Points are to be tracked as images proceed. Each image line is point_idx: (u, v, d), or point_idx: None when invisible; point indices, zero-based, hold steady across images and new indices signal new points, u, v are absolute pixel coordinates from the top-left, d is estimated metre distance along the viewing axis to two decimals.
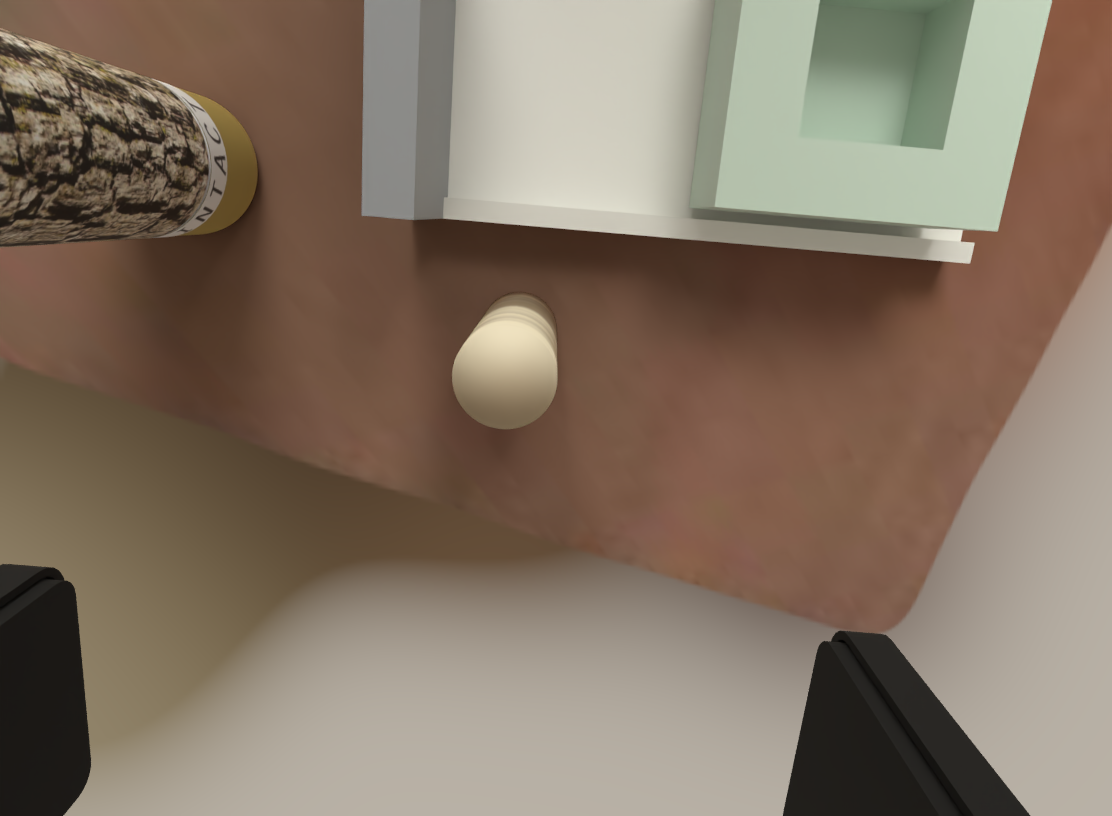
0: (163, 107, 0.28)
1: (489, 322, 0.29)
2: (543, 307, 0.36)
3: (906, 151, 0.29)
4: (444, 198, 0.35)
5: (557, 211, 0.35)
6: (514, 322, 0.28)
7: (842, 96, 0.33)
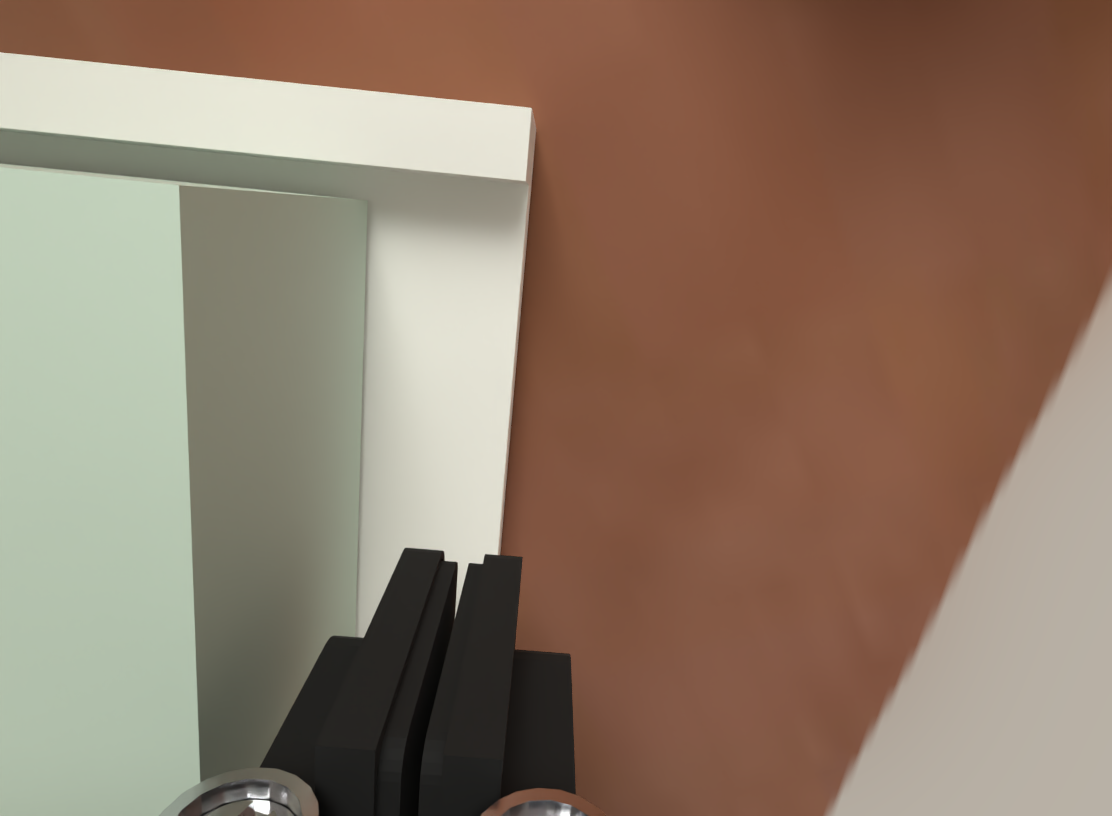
0: None
1: None
2: None
3: None
4: None
5: None
6: None
7: None
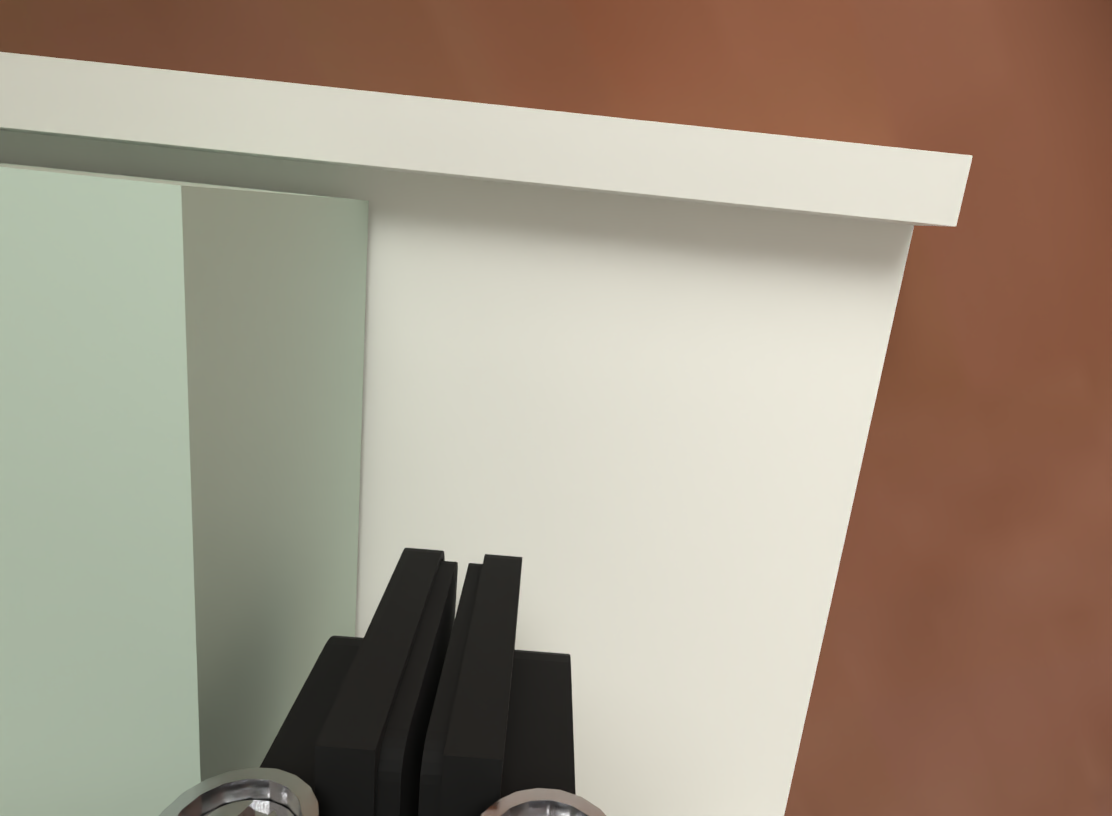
0: None
1: None
2: None
3: None
4: None
5: None
6: None
7: None
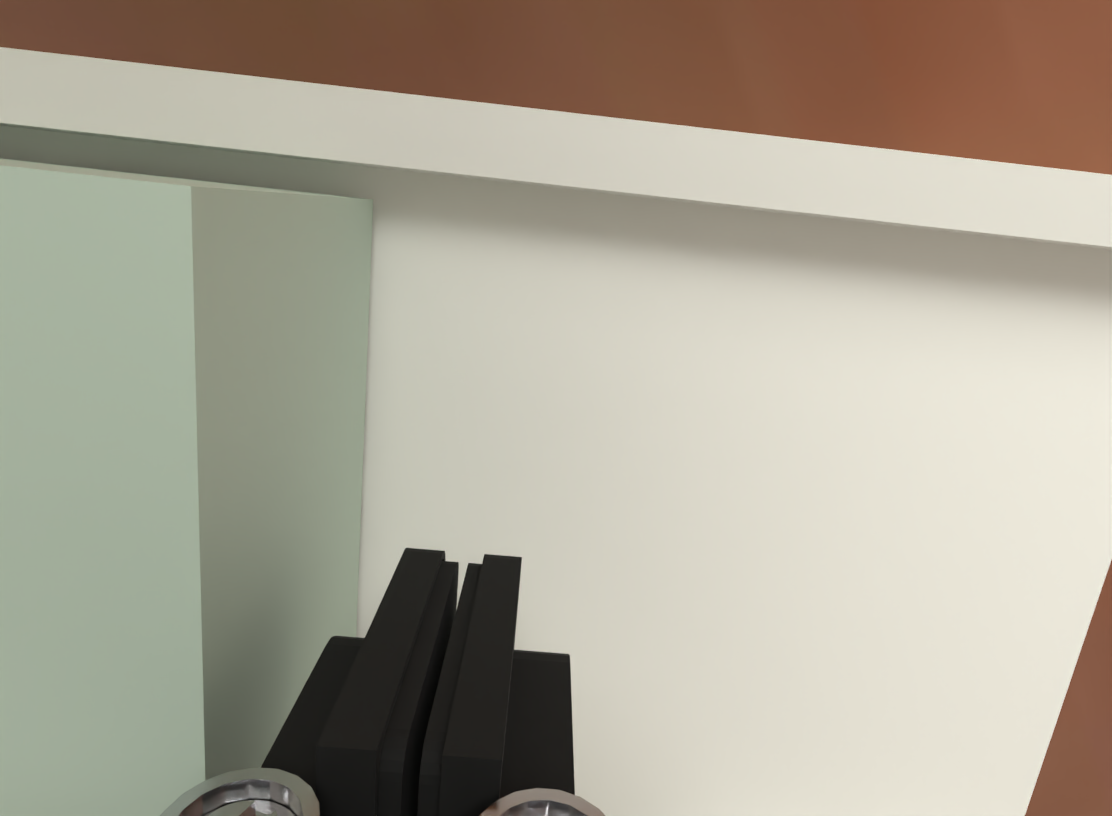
0: None
1: None
2: None
3: None
4: None
5: None
6: None
7: None
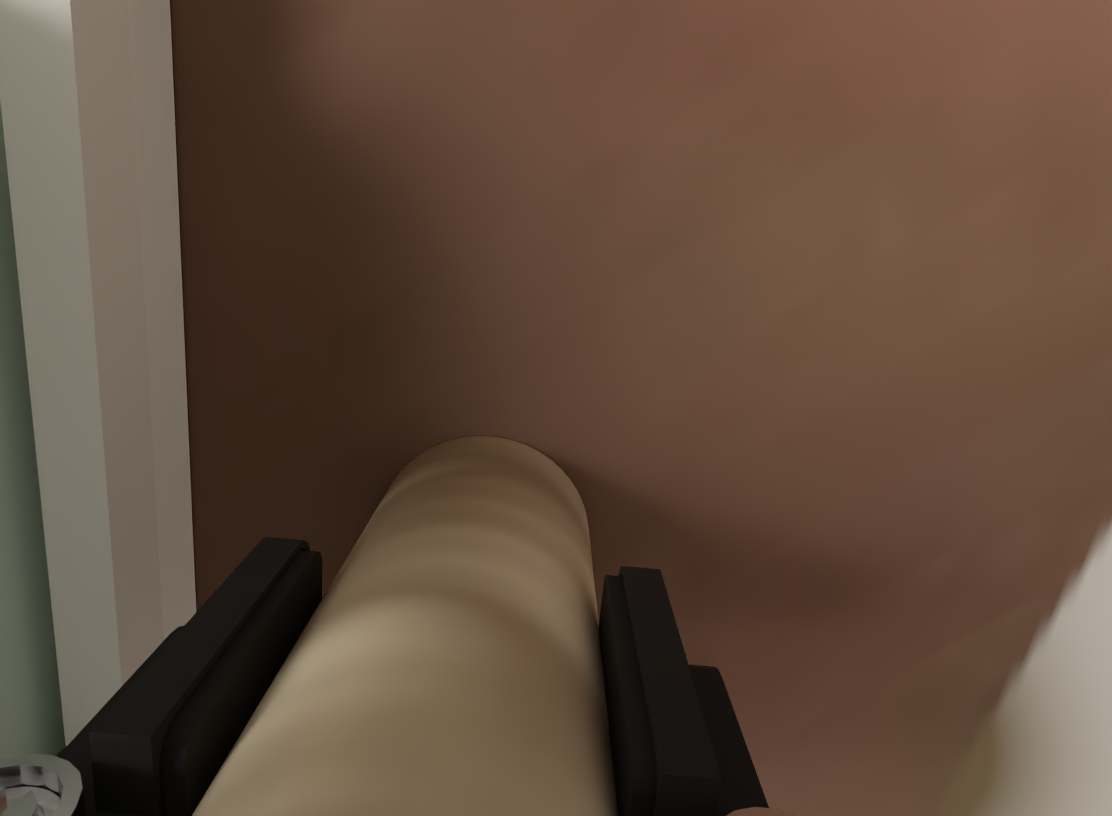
0: None
1: None
2: (376, 517, 0.11)
3: None
4: None
5: (54, 481, 0.11)
6: None
7: None
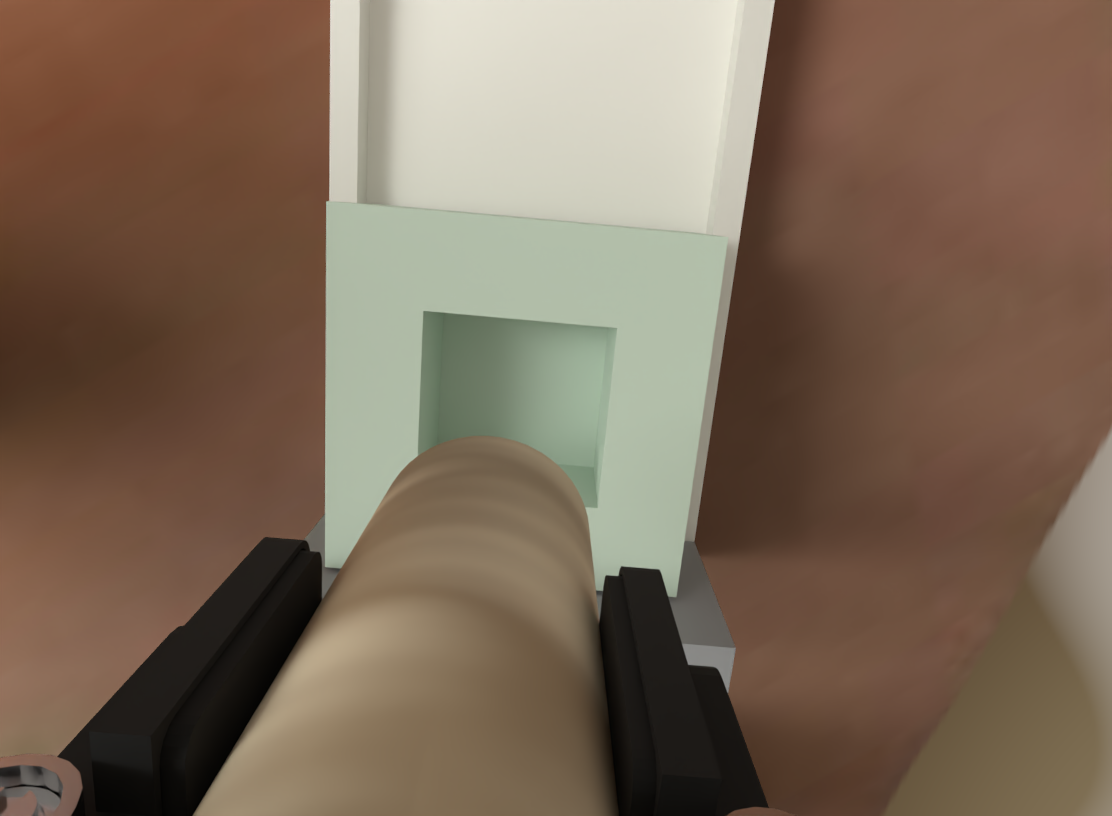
0: None
1: None
2: (377, 517, 0.11)
3: (618, 375, 0.23)
4: None
5: None
6: None
7: (538, 387, 0.27)
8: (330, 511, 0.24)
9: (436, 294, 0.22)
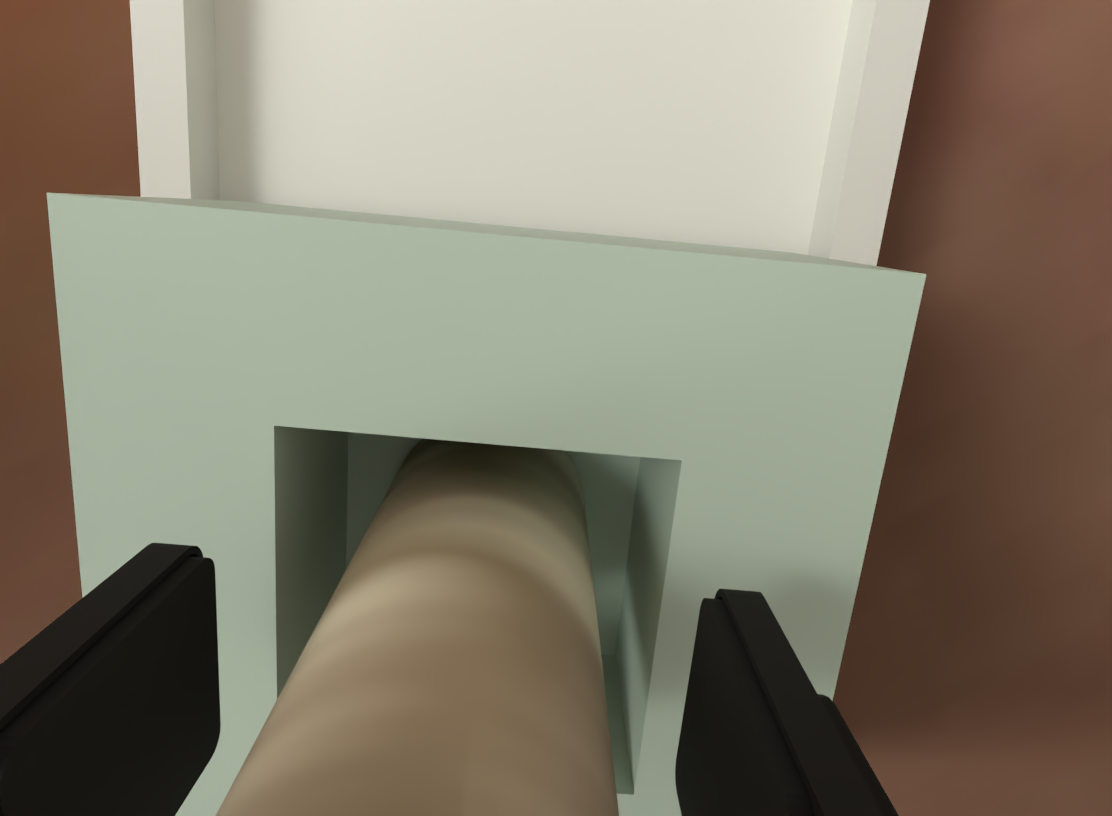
0: None
1: None
2: (394, 489, 0.12)
3: (680, 554, 0.11)
4: None
5: None
6: None
7: None
8: None
9: (300, 392, 0.10)
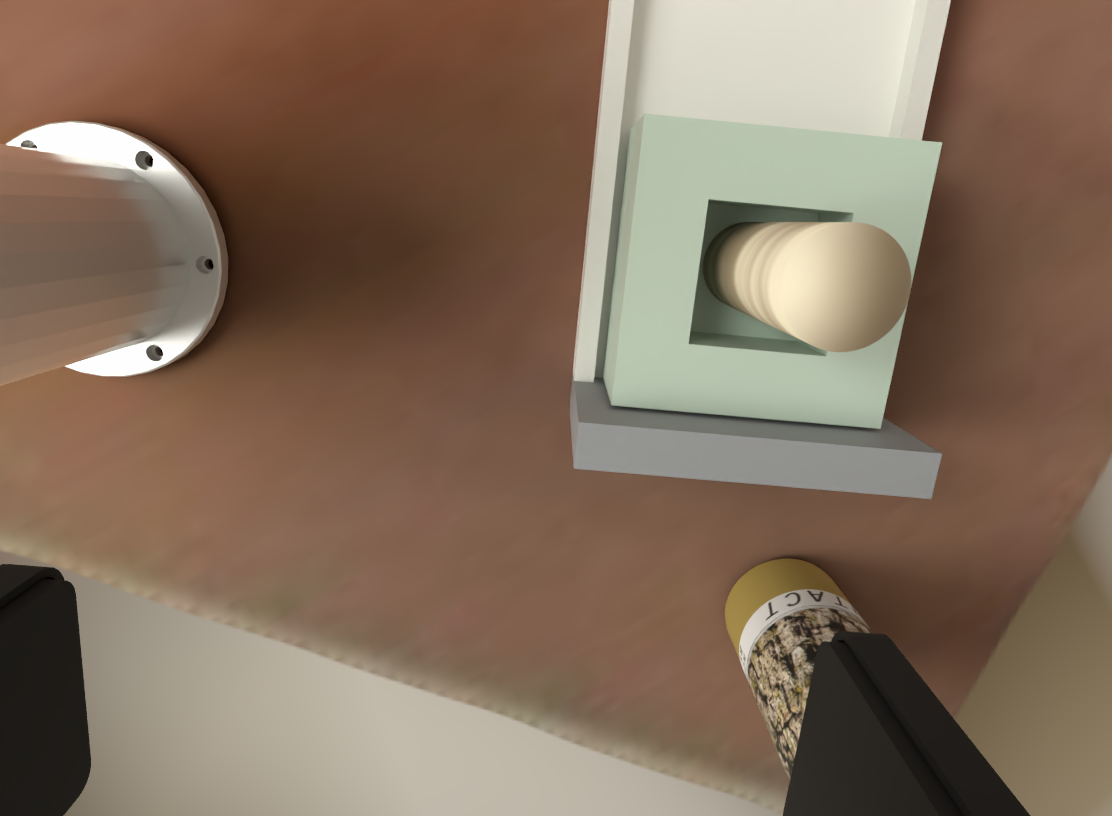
0: (802, 642, 0.34)
1: (765, 298, 0.24)
2: (731, 234, 0.31)
3: None
4: None
5: None
6: (774, 268, 0.23)
7: None
8: (620, 359, 0.31)
9: (719, 186, 0.29)
